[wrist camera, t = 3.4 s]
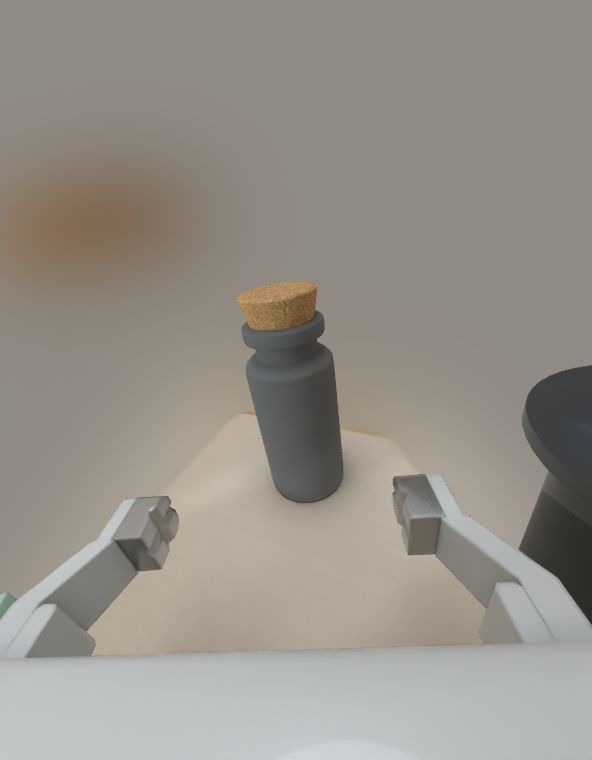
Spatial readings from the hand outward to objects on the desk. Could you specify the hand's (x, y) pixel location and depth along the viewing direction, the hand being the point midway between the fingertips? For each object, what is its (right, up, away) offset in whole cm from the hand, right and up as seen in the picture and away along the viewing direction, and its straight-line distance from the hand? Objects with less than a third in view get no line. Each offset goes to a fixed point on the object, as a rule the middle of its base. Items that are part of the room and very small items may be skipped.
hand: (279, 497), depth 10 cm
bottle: (+2, -4, +14) cm, 14 cm away
